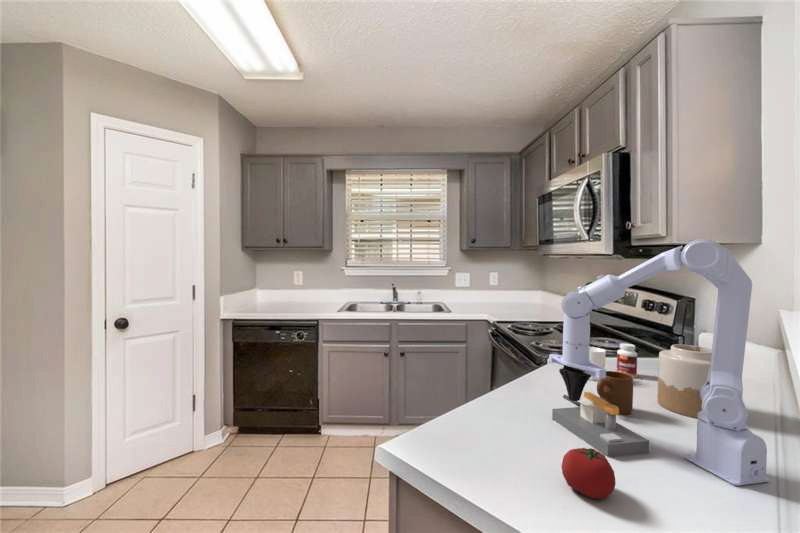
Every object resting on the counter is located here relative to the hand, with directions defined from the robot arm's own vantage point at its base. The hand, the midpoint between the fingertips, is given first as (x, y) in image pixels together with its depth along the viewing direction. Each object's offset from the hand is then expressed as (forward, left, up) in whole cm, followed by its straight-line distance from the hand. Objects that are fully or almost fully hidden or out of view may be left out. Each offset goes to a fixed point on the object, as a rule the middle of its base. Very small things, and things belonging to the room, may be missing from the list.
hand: (574, 399), depth 85 cm
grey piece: (-4, -3, -6) cm, 8 cm away
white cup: (+33, -33, -7) cm, 47 cm away
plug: (+2, -4, -4) cm, 6 cm away
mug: (+7, -17, -7) cm, 19 cm away
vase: (+5, -41, -7) cm, 42 cm away
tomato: (-22, +14, -7) cm, 27 cm away
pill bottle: (+34, -48, -7) cm, 59 cm away
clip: (-3, -4, 0) cm, 5 cm away
